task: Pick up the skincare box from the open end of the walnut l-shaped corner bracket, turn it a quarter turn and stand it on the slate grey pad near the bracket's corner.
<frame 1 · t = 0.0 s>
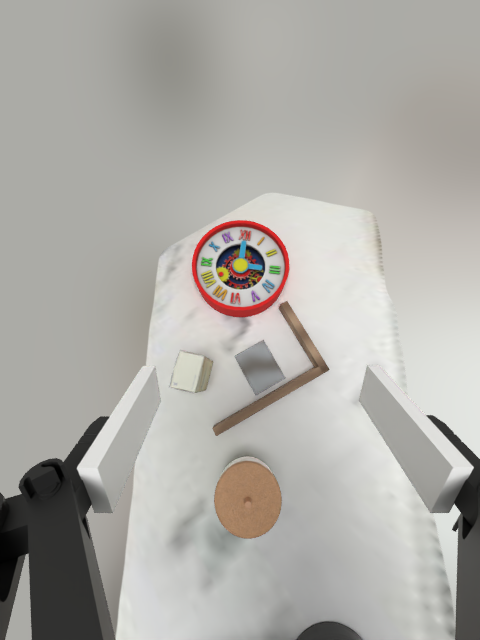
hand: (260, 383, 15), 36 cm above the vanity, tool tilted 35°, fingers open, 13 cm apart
walnut l-shaped corner bracket: (250, 366, 51), on the vanity
toy clock: (240, 275, 56), on the vanity
lidded jar: (246, 478, 47), on the vanity
skincare box: (199, 372, 51), on the vanity
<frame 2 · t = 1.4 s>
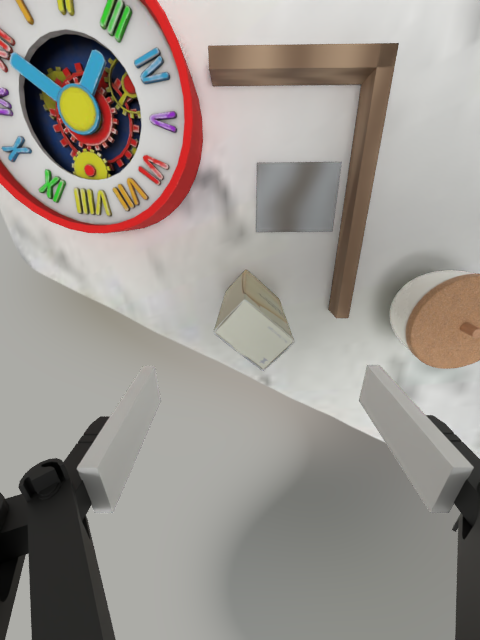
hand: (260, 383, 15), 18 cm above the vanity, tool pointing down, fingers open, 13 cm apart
walnut l-shaped corner bracket: (286, 213, 28), on the vanity
toy clock: (108, 129, 26), on the vanity
lidded jar: (414, 301, 33), on the vanity
skincare box: (251, 295, 33), on the vanity
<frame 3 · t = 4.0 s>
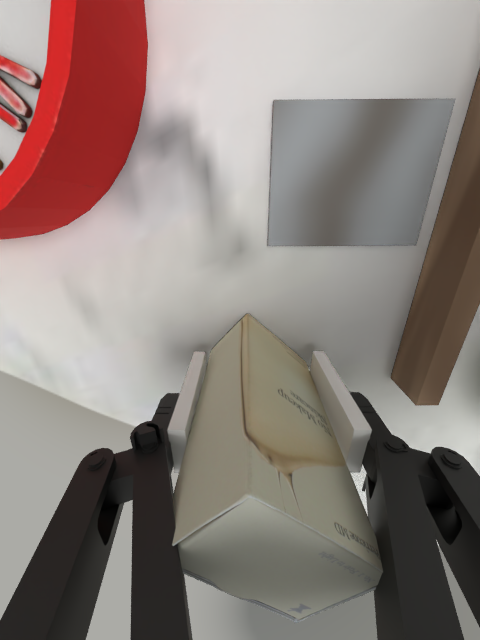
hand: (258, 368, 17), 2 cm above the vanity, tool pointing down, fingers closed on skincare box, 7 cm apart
walnut l-shaped corner bracket: (328, 209, 14), on the vanity
skincare box: (256, 354, 19), on the vanity, touching gripper
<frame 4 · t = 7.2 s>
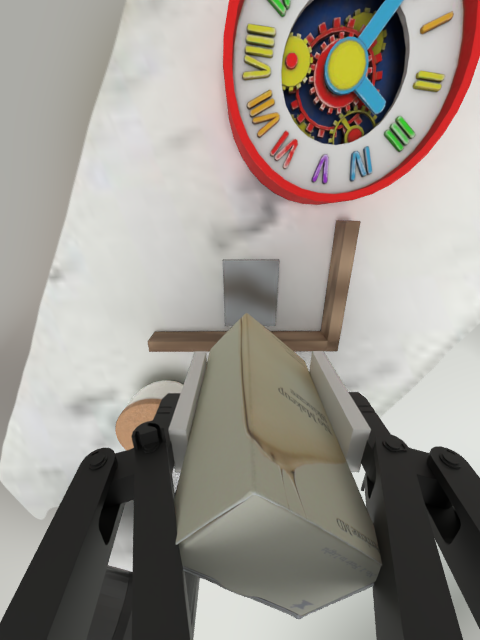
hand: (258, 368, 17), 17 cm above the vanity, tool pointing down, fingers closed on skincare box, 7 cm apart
walnut l-shaped corner bracket: (239, 286, 32), on the vanity
toy clock: (325, 95, 25), on the vanity
lidded jar: (171, 394, 39), on the vanity
skincare box: (255, 354, 19), point 15 cm above the vanity, touching gripper
when the fingers open (3 cm above the vanity, at t = 10.8 s): skincare box stays where it is, resting on walnut l-shaped corner bracket.
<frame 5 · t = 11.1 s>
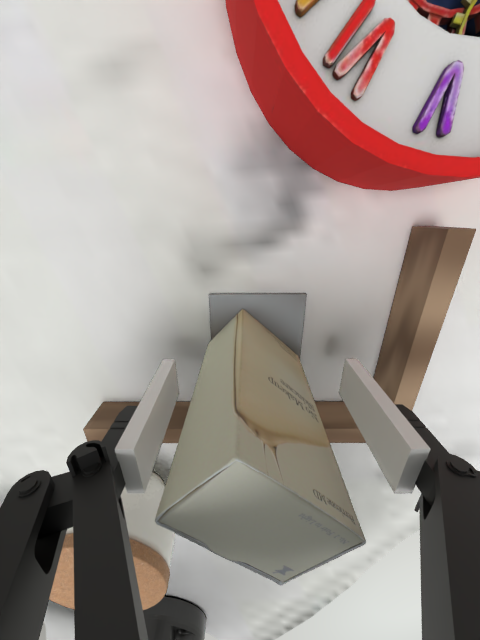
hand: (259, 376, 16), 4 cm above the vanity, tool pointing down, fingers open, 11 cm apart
walnut l-shaped corner bracket: (237, 336, 19), on the vanity
lidded jar: (137, 483, 27), on the vanity
skincare box: (251, 348, 19), resting on walnut l-shaped corner bracket
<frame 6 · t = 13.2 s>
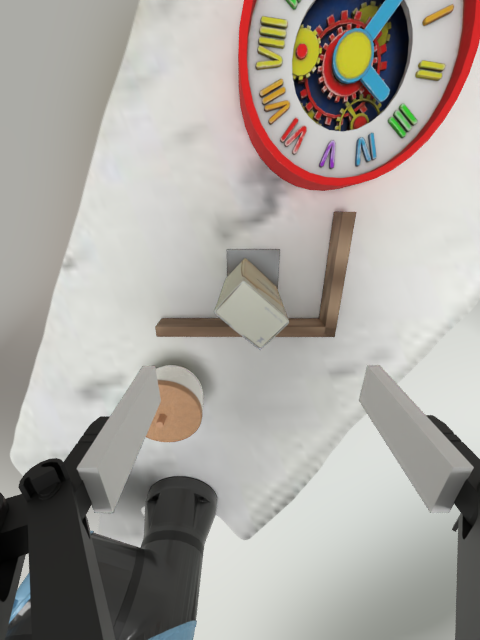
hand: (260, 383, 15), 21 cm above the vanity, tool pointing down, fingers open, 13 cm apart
walnut l-shaped corner bracket: (241, 275, 34), on the vanity
toy clock: (332, 85, 26), on the vanity
lidded jar: (177, 379, 41), on the vanity
skincare box: (249, 282, 34), resting on walnut l-shaped corner bracket
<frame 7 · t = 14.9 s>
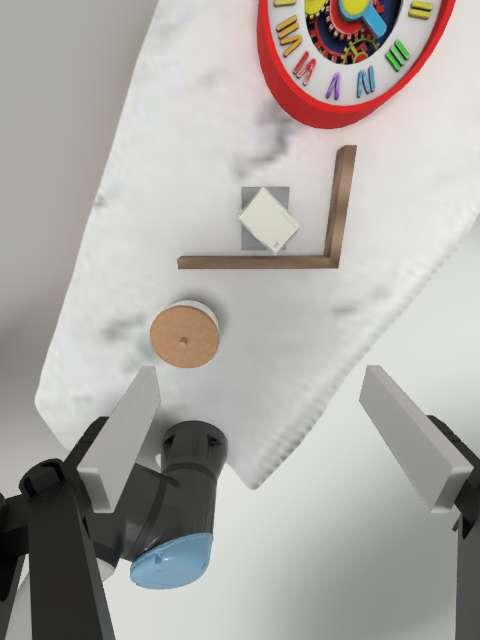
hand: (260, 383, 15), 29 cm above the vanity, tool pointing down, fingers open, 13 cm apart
walnut l-shaped corner bracket: (254, 213, 38), on the vanity
toy clock: (337, 30, 30), on the vanity
lidded jar: (193, 319, 45), on the vanity
skincare box: (261, 220, 38), resting on walnut l-shaped corner bracket
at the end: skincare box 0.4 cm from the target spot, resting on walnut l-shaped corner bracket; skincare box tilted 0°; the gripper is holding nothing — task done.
